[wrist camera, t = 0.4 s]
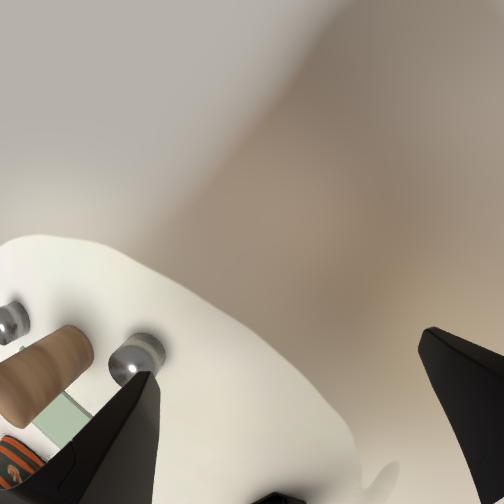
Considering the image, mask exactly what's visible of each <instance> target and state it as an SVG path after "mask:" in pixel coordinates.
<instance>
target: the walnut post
mask: <svg viewBox="0 0 504 504" xmlns="http://www.w3.org/2000/svg"><path fill="white" fill-rule="evenodd" d="M93 358H94V354H93V349H92V346H91V344H90V342H89V340H88V338H87V337H86V336H85V334H84V333H83V332H82V331H80V330H79V329H77V328H76V327H73V326H64V327H62V328H60V329H58V330H56V331H55V332H53V333H51V334H49V335H47V336H46V337H44V338H42V339H40V340H39V341H37V342H35V343H33V344H32V345H30V346H28V347H26V348H25V349H23V350H21V351H20V352H18V353H16V354H14V355H13V356H11V357H9V358H8V359H6V360H4V361H2V362H1V363H0V414H1V415H2V416H3V417H4V418H5V419H6V420H7V421H8V422H9V423H10V424H12V425H13V426H15V427H17V428H20V429H24V428H25V427H26V426H27V425H28V424H29V423H31V422H32V421H33V420H34V419H35V418H36V417H37V416H38V415H39V414H40V413H41V412H42V411H43V410H44V409H45V408H46V407H47V406H48V405H49V404H50V403H51V402H52V401H53V400H54V399H56V398H57V397H58V396H59V395H60V394H61V393H62V392H63V391H64V390H65V389H66V388H67V387H68V386H69V385H70V384H71V383H73V382H74V381H75V380H76V379H77V378H78V377H79V376H80V375H81V374H82V373H83V372H84V371H85V370H87V369H88V368H89V367H90V366H91V364H92V362H93Z"/></svg>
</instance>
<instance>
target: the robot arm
mask: <svg viewBox="0 0 504 504" xmlns="http://www.w3.org/2000/svg"><path fill="white" fill-rule="evenodd" d="M418 353H419V355H420V358H421V360H422V363H423V365H424V367H425V370H426V372H427V375H428V377H429V380H430V382H431V385H432V387H433V389H434V391H435V393H436V395H437V397H438V399H439V401H440V403H441V405H442V407H443V409H444V411H445V413H446V415H447V418H448V420H449V422H450V424H451V426H452V428H453V430H454V433H455V435H456V437H457V440H458V442H459V444H460V447H461V449H462V452H463V454H464V457H465V459H466V462H467V464H468V467H469V469H470V472H471V475H472V478H473V481H474V484H475V486H476V489H477V492H478V496H479V499H480V502H481V504H494V503H495V502H497V501H499V500H500V499H502V498H503V497H504V356H502V355H500V354H498V353H495V352H493V351H491V350H488V349H486V348H483V347H481V346H479V345H476V344H474V343H472V342H469V341H467V340H465V339H462V338H460V337H458V336H455V335H453V334H451V333H448V332H446V331H444V330H441V329H439V328H437V327H430V328H427V329H425V330H424V331H423V333H422V337H421V340H420V343H419V346H418ZM159 429H160V388H159V385H158V383H157V381H156V379H155V376H154V374H153V372H152V371H150V370H140V371H138V372H137V373H136V374H135V375H134V376H133V377H132V378H131V379H130V380H129V381H128V382H127V383H126V384H125V385H124V386H123V387H122V388H121V389H120V390H119V391H118V392H117V393H116V394H115V395H114V396H113V397H112V398H111V399H110V400H109V401H108V402H107V403H106V404H105V406H104V407H103V408H102V409H101V410H100V411H99V412H98V413H97V414H96V415H95V416H94V417H93V418H92V419H91V420H90V421H89V422H88V423H87V424H86V425H85V426H84V427H83V428H82V429H81V430H80V431H79V432H78V433H77V434H76V435H75V436H74V437H73V438H72V441H71V440H70V441H69V442H68V443H67V444H66V445H65V446H64V447H63V448H62V449H61V450H60V451H59V452H58V453H57V454H56V455H55V456H54V457H53V458H51V459H50V460H49V461H48V462H47V463H46V464H44V465H43V466H42V467H41V468H39V469H38V470H37V471H36V472H34V473H33V474H32V475H30V476H29V477H28V478H27V479H25V480H24V481H23V482H21V483H20V484H18V485H17V486H15V487H12V488H9V489H1V490H0V504H152V494H153V484H154V474H155V465H156V457H157V449H158V442H159ZM253 504H307V503H306V502H304V501H301V500H297V499H294V498H291V497H288V496H285V495H282V494H279V493H272V494H270V495H268V496H267V497H265V498H263V499H261V500H259V501H257V502H255V503H253Z"/></svg>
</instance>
